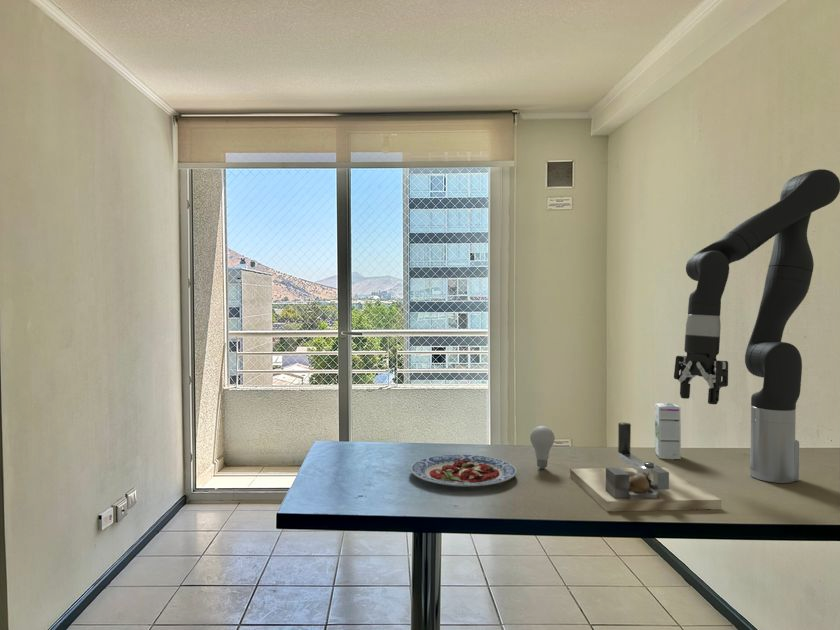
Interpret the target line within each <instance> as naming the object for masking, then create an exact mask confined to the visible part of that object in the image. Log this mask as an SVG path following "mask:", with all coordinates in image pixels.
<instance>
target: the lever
mask: <svg viewBox="0 0 840 630" xmlns="http://www.w3.org/2000/svg"><path fill="white" fill-rule="evenodd" d="M631 427H632V424H631V423H630V422H618V427H617V428H618V431H617V435H618V436H617V439H618V440H617V453H618V459H619V460H620V461H622V462H623V463H625V464H626V465H628V466H630V468H634V469H635V470H637V475H641V476H644V477H645V478H646V479H650V480H651V486H653V487H654V488H656V489H657V490H669V472H667V471H666V470H664V469H662V468H663V467H661V466H659V465H657V464H655V463H654V462H651V461H644V460H643V459H640V458H639V457H638V456H636V455H634V454H632V453H631V438H632V437H631V434H632V432H631Z"/></svg>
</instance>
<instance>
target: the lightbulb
mask: <svg viewBox="0 0 840 630" xmlns="http://www.w3.org/2000/svg"><path fill="white" fill-rule="evenodd" d="M555 439H556V438H555V433H554V432H553V430H552V429H551V428H549V427H548V426H546V425H537V426H536V427H534V428H533V429H532V431H531V432H530V436H529V440H530V443H531V445H532V447H533V449H534V452H535V458H536V466H537V467H538V468H539V469H541V470H544V469H545V468H547V467H548V460H549V455H550V451H551V449H552V447H553V446H554V443H555Z"/></svg>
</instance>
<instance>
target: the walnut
mask: <svg viewBox="0 0 840 630" xmlns="http://www.w3.org/2000/svg"><path fill="white" fill-rule="evenodd" d="M629 487H630V489H631V491H632V492H633V493H646V492H647V491H648V490H649V482H648V480H647V479H646V478H645V477H644V476H641V475H635V476H633V477H632V478H631V479H630V481H629Z"/></svg>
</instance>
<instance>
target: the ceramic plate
mask: <svg viewBox="0 0 840 630" xmlns="http://www.w3.org/2000/svg"><path fill="white" fill-rule="evenodd" d="M410 472H411V474H412V475H413V476H415V477H417V478H419V479H421V480H422V481H427V482H429V483H434V484H439V485H442V484H443V485H442V486H447V487H454V488H455V487H456V488H476V487H484V486H489V485H496V484H500V483H504V482H507V481H509V480H512V478H514V477H515V476H516V474H517V468H516V467H515V466H514V465H513V464H511V463H510V462H509V461H505V460H502V459H500V458H496V457H491V456H485V455H479V454H464V453H463V454H461V453H460V454H458V453H456V454H453V453H452V454H441V455H439V454H438V455H433V456H428V457H425V458H421V459H418V460H417V461H415V462H413V463H412V464H411V465H410Z"/></svg>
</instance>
